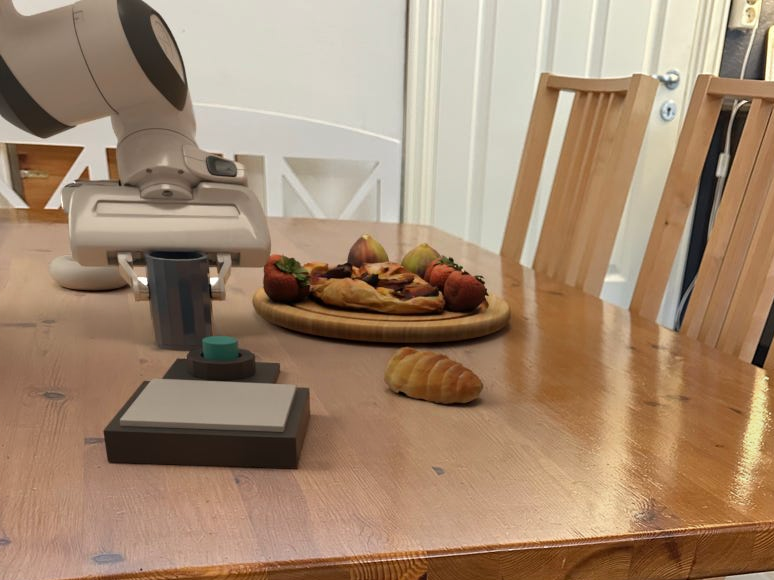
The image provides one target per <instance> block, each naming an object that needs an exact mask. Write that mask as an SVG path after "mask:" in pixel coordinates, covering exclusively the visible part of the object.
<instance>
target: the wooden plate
mask: <svg viewBox="0 0 774 580" xmlns="http://www.w3.org/2000/svg"><path fill="white" fill-rule="evenodd" d="M463 269H464V266H462V265H459V264H458V263H455V260H454V258H453V257H451V256H448V257H447V256H446V255H444V254H442V255H441V254H440V253H439V252H438V251H437V250H436V249H434V248H432V246H430V245H429V244H428V243H426V242H423V243H421V244H419V245H417V246H416V247H414V248H412V249H411V250H410V251H409V250H408V252H407V253H406V254H405V255H404V257H403V258H402V261H401V262H400V264H399V263H397V262H394V261H390V259H389V255H388V253H387V252H386V249H385V248H384V246H383V245H382V244H381V243H380V242H379V241H377V240H376V239H374V238H373V237H372V236H370V234H366V235H365V234H364V235H363V234H362V235H360V237H359V238H358V239H357V240H356V241H355V242H354V243H353V244H352V246H351V247H350V249H349V252H348V254H347V259H346V262H344V263H341V264H337V265H332V266H329V263H326V262H316V261H314V262H307V263H304V264H303V265H301V262H300V261H298V260H297V259H296V258H295V257H288V256H285V255H284V254H283V253H282V254H277V253H275V254H272V255H271V254H270V258H269V260H268V262H267V263H266V265H265V266H264V267H263V277H262V278H263V279H262V286H261V287H259V288H258V289H257V290H256V291H255V292H254V294H253V296H252V306H253V309H254V310H255V312H256V313H257V314H258V315H259V316H260V317H261V318H262V319H264V320H265V321H267V322H268V323H271V324H274V325H276V326H279V327H281V328H284V329H288V330H292V331H297V332H299V333H304V334H309V335H314V336H320V337H327V338H334V339H342V340H351V341H362V342H374V343H397V344H399V343H400V344H403V343H404V344H406V343H407V344H416V343H419V344H420V343H421V344H423V343H442V342H443V343H444V342H453V341H454V342H455V341H462V340H469V339H474V338H480V337H483V336H487V335H488V336H489V335H490V334H494V333H496V332H498V331H500V330H501V329H503V328H504V327H505V326H507V324H508V323H509V322H510V320H511V317H512V312H511V307H510V306H509V304H508V303H507V302H506V301H505V300H504V299H503V298H501V297H499V296H498V295H496V294H493V293H491V292H489V291H488V288H486V285H485V284H486V281H485V277H484V276H483V275H477V274H476V275H472V274H471V273H470V272H468V271H467V270H466V269H464V270H463ZM483 279H484V280H483Z"/></svg>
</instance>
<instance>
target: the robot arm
mask: <svg viewBox="0 0 774 580" xmlns="http://www.w3.org/2000/svg"><path fill="white" fill-rule="evenodd" d="M0 116H1V117H2V119H4V120H5V121H6V122H8V123H9V124H11V125H12V126H13V127H16V128H17V129H19V130H21V131H23V132H25V133H27V134H30V135H32V136H35V137H37V138H39V139H43V140H46V139H49V138H51V137H55V136H56V135H59V134H61V133H64V132H67V131H69V130H71V129H74V128H76V127H78V126H79V125H82V124H85V123H89V122H93V121H97V120H101V119H104V118H108V117H110V123H111V127H112V131H113V133H114V136H115V137H116V139H117V143H116V148H115V158H116V164H117V165H116V166H117V173H118V178H119V179H98V180H97V179H95V180H94V179H93V180H90V179H86V178H77V179H74V180H73V182H70V183H68V184H66V185H64V186H63V187H62V188H61V190H60V194H59V197H60V205H61V209H62V211H63V212H64V214H65V215H66V216H67V218H68V219H67V220H68V223H67V224H68V225H67V229H68V241H69V247H70V254H72V257H73V259H74V260H75V261H77V262H78V263H79V264H80V265H81V266H84V267H119V271H120V275H121V276H122V277H123V278H124V279H125V281H126V282H127V283H128V284H127V285H128V286H130V288H132V290H133V297H134V298H133V299H134V301H135V302H149V301H150V298H149V288H148V281H147V278H146V277H141V276H140V277H139V275H138V274H137V272H135V271H134V268H145V261H144V254H145V253H146V252H150V251H167V252H201V253H205V254H206V255H208V259H209V268H216V272H217V277H210V285H211V299H212V302H213V301H214V302H220V301H221V302H222V301H224V302H225V301H226V292H227V291H226V285H227V283H228V280H229V279H230V277H231V276H232V275H231V274H232V268H238V269H239V268H240V269H241V268H245V269H246V268H252V269H257V268H258V269H259V268H264V266H265V265H266V263H267V262H268V260H269V258H270V256H271V253H272V252H271V251H272V239H271V234H270V229H269V225H268V222H267V219H266V215H265V211H264V209H263V206H262V203H261V201H260V199H259V197H258V196H257V194H256V193H255V192H254V191H253V190H252V189H250V187H249V186H250V185H249V184H250V183H249V173H248V169H247V167H246V165H244V164H243V163H241V162H239V161H235V160H232V159H228V158H226V157H223V156H219V155H216V154H213V153H211V152H208V151H206V150H203V149H201V148H200V146H199V144H198V143H197V141H196V135H197V120H196V115H195V110H194V103H193V100H192V96H191V92H190V88H189V83H188V78H187V72H186V66H185V63H184V59H183V56H182V53H181V50H180V48H179V46H178V42H177V41H176V38H175V36H174V34H173V32H172V30H171V29H170V27H169V25H168V24H167V22H166V20H165V19H164V17H163V16H162V15H161V14H160V13H159V12H158V11H157V10H155V9H154V8H153V7H152V6H151V5H149V4H148V3H147V2H145V1H143V0H77V1H75V2H74V3H71V4H67V5H63V6H61V7H60V6H59V7H56V8H52V9H49V10H46V11H42V12H39V13H35V14H30V15H23V14H21V13H20V12H19V11H18V10H17V9H16V7H15V5H14V3H13V0H0Z"/></svg>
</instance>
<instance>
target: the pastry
mask: <svg viewBox="0 0 774 580" xmlns="http://www.w3.org/2000/svg"><path fill="white" fill-rule="evenodd" d="M383 379H384V383H385V384H386V385H387V386H388V387H389V388H390V389H391V391H392V392H393V393H396V394H399V392H402V393H404V394H405V395H406V396H408V397H410V398H414V399H417V400H419V399H423V400H424V401H426V402H428V403H430V402H433V403H435V404H438V403H439V404H444V405H447V404H454V403H462V404H466V403H469V402H472V401H473V400H475V399H478V398H479V397H480V396H481V393H482V391H483V389H484V382H483V381H482V379H480V377H479V376H478V375H477V374H476V373H474V372H473V370H471V369H469V368H468V367H466V366H463V364H462V363H461V362H458V361H455V360H453V359H450V357H449V356H448V355H447V354H443V353H435V352H433V351H430V350H425V351H419V350H417V349H416V348H414V347H413V348H412V347H410V346H406V347H401V348H399V349H398V350H397V351H396V352H395V354H393V355H392V356H391V358H390V359H389V361H388V364H387V366H386V369H385V372H384V378H383Z"/></svg>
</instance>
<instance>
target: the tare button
mask: <svg viewBox="0 0 774 580" xmlns="http://www.w3.org/2000/svg"><path fill="white" fill-rule="evenodd" d="M202 342H203V354H204V358H206V359H211V360H230V359H236V358H239V355H238V348H239V341H238V339H237V338H235V337H233V336H228V335H215V336H210V337H206V338H204V339H203V340H202Z"/></svg>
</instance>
